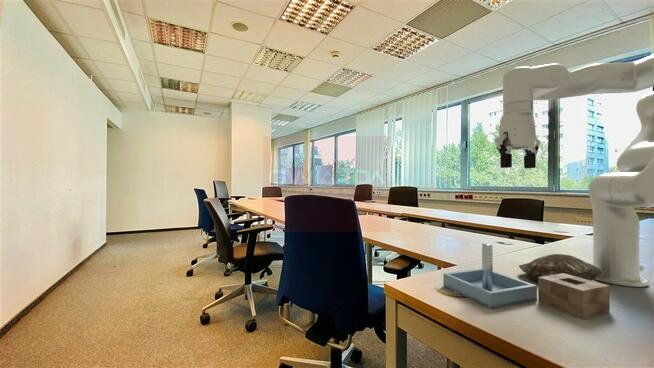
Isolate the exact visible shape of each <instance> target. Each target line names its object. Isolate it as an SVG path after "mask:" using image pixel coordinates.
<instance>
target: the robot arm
mask: <svg viewBox="0 0 654 368" xmlns="http://www.w3.org/2000/svg"><path fill="white" fill-rule="evenodd" d="M653 87H654V53H653V54H651V55H649V56H646V57H644V58H641V59H639V60H635V61H626V62H603V63H601V62H600V63H593V64H590V65H585V66H583V67H580V68H578V69H574V70H572V71H569V70H568V69H567V67H566V66H564V65H562V64H560V63H548V64H542V65H537V66H532V67H530V66H517V67H514V68H511V69H508V70H507V71H506V72H504V74H503V76H502V115H501V117H500V123H499V125H498V126H499V128H498V136H497V137H496V138H494V142H495V145H496V146H495V147H496V149H497V151H498V155H500V158H499V159H500V161H499V162H500V169H507V168H512V167H513V154H512V150H517V151H518V150H522V151H523V153H524V154H525V155H523V167H524V169H535V168H536V167H537V164H536V163H537V162H536V161H537V154H538V151H539V148H540V146H541V145H540V144H541V140H539V139H538V138H537V133H536V132H537V131H536V124H535V117H534V101H552V100H559V99H565V98H567V99H568V98H574V97H580V96H582V97H583V96H586V95H598V94H621V93H622V94H625V93H635V92H639V91H644V90H646V89H650V88H653ZM635 110H636V114H637V116H638V118H639V121H640V125H641V129H640V131H639V133H637V135H636V137H635V138H634V139H633V140H632V141H631V142H630V143H629V145H628V146H627V147H626V148H625V149H624V150H623V151H622V153H621V154H620V156H618V159H617V162H616V168H617V170H618V172H608V173H606V172H605V173H603V174H599V175H597V176H595V177H594V178H593V179H591V181H590V182H589V185H588V194H589V195H588V196H589V200H590V203H591V207H592V208H591V209H592V219H593V220H592V248H593V249H592V265H594V266H595V267H597V268H599V269H600V270H601V271H602V272H601V273H602V274H601V275H600V276H599V277H597V278H596V279H595V280H596V281H599V282H601V283H603V282H604V283H605V284H606V283H607V284H612V285H616V286H617V285H618V286H623V287H634V288H635V287H636V288H640V287H641V288H643V287H647V286H648V285H649V281H648V279H646V278H644V277H642V276H641V274H640V273H641V272H644V271H645V268H644V266H643V265H641V264H640V262H641V261H640V257H641V255H640V253H641V252H640V249H641V248H640V226H641V225H640V220H639V216H638V213H637V212H636V210H635V209H634V207H637V208H638V207H640V208H654V91H651V92H648V93H647V94H644V95H643V96H642V97H641V98H640V99H639V100H638V101H637V103H636V108H635Z"/></svg>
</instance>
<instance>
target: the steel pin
mask: <svg viewBox="0 0 654 368" xmlns="http://www.w3.org/2000/svg"><path fill="white" fill-rule="evenodd" d="M493 251H494V250H493V244H491V243H481V269H482V288H483V289H486V290H488V291H493V271H494V269H493V268H494V267H493V264H494V263H493V256H494V254H493Z"/></svg>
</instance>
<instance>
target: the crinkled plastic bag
mask: <svg viewBox="0 0 654 368" xmlns="http://www.w3.org/2000/svg"><path fill="white" fill-rule="evenodd" d="M518 268H519V269H520V270H521V271H522V272H523V273H526V278H528V279H530V280H531V279H532V280H533V281H534V280H535V281H537V282H538V277H543V276H549V275H556V274H562V273H564V274H568V275H572V276H576V277H579V278H583V279H587V280H590V281H595V280H596V278H597V277H599V276H600V275H601V274H602V273H601V272H602V271H601V270H600V269H599V268H597V267H595V266H594V265H593V263H592V264H591V263H589V262H586V261H584V260H583V259H580V258H577V257H576V256H573V255H571V254H562V253H560V254H559V253H554V254H548V255H544V256H540V257H538V258H536V259H533V260H531V261H530V262H527V263H524V264H520V265H518Z"/></svg>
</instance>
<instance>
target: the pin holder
mask: <svg viewBox="0 0 654 368" xmlns="http://www.w3.org/2000/svg"><path fill="white" fill-rule="evenodd" d="M537 283H538V286H537V302H538V303H539V304H542V305H545V306H547V307H551V308H552V309H555V310H557V311H560V310H561V312H564V313H566V314H568V315H571V316H574V317H576V318H579V319H580V320H585V319H591V318H594V317H595V318H596V317H599V316H603V315H606V314H610V311H611V310H610V309H611V308H610V295H611V294H610V287H611V286H610V285H608V284H606V283H605V284H604V283H603V282H601V283H600V282H597V281H595V280H592V281H590V280H587V279H583V278H579V277H576V276H572V275H568V274H564V273H562V274H556V275H549V276H543V277H538V281H537Z"/></svg>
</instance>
